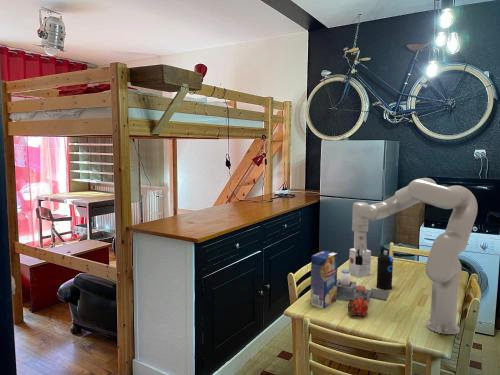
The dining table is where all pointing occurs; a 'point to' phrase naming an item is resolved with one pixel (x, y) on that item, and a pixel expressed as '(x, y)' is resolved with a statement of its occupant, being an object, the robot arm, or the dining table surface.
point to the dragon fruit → (358, 306)
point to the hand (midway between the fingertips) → (358, 264)
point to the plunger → (360, 289)
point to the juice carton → (323, 279)
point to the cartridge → (345, 277)
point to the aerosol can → (384, 272)
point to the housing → (351, 292)
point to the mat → (380, 294)
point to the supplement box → (360, 269)
